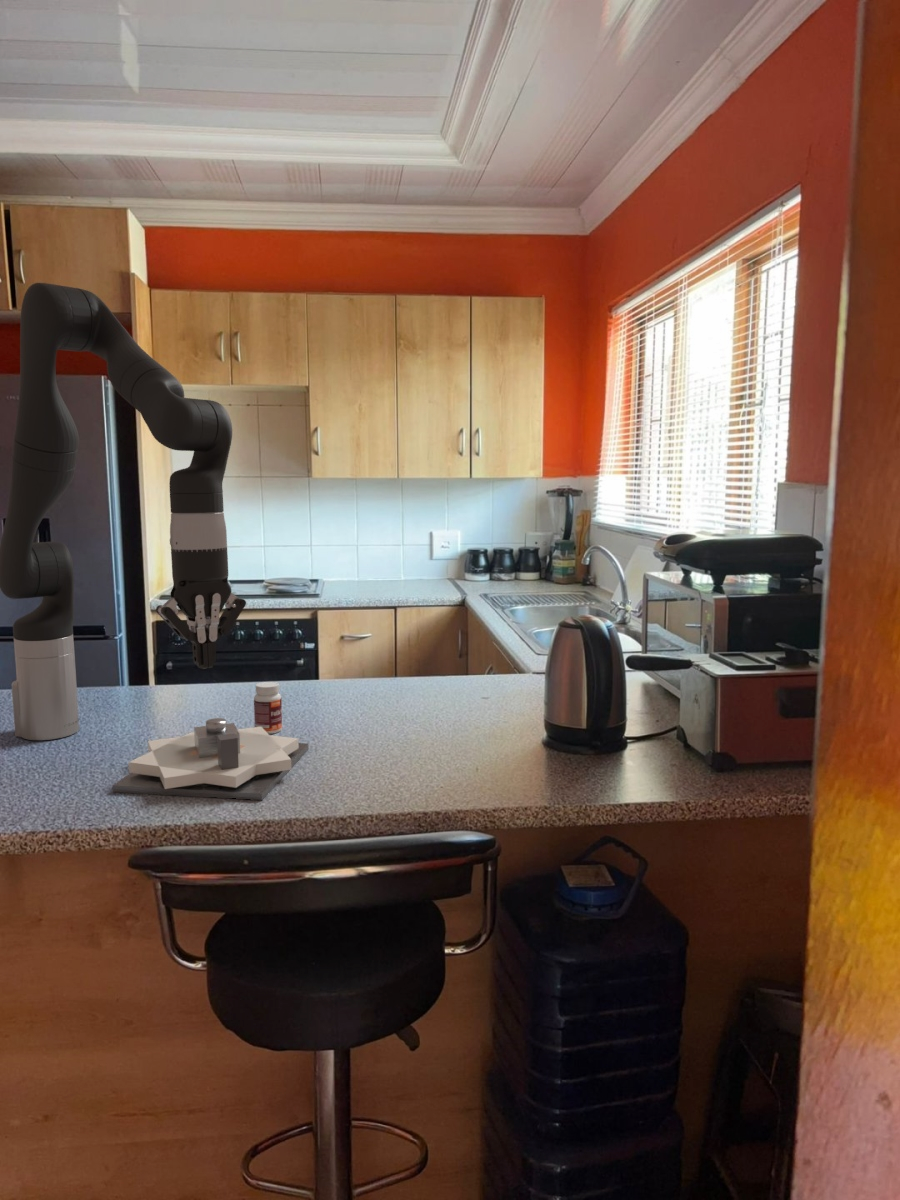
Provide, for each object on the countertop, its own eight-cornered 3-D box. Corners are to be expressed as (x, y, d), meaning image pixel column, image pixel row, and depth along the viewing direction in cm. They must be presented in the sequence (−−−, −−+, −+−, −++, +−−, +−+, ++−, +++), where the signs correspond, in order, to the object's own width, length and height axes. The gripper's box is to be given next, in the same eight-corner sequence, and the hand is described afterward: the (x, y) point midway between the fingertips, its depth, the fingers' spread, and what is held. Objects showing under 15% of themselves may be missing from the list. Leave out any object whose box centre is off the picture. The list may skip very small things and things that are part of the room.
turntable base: (113, 792, 119) (112, 785, 118) (181, 743, 140) (181, 737, 140) (262, 800, 116) (261, 793, 116) (308, 749, 137) (308, 743, 137)
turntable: (120, 747, 133) (118, 710, 133) (277, 726, 145) (276, 693, 144) (139, 803, 111) (137, 759, 110) (323, 773, 122) (322, 734, 121)
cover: (198, 758, 124) (197, 728, 123) (194, 745, 129) (193, 717, 129) (240, 753, 126) (239, 724, 125) (234, 741, 132) (233, 713, 131)
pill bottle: (275, 735, 145) (274, 688, 144) (250, 733, 146) (248, 686, 144) (286, 727, 149) (285, 681, 148) (261, 725, 150) (260, 680, 149)
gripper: (164, 549, 109) (171, 679, 111) (255, 544, 117) (260, 664, 120) (141, 546, 114) (148, 670, 117) (229, 541, 123) (235, 656, 125)
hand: (205, 667), depth 118 cm, fingers closed
